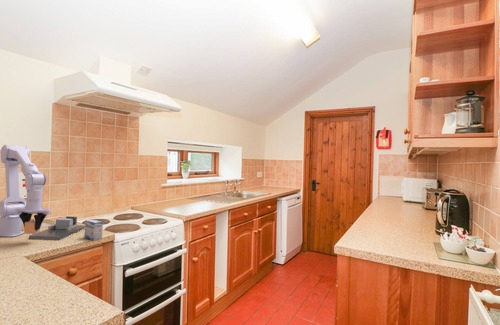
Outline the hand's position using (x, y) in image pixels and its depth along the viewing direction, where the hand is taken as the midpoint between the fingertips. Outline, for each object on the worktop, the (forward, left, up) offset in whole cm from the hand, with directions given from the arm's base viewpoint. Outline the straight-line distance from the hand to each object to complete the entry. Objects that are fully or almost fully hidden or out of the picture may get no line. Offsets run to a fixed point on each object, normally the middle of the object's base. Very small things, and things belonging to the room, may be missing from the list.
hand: (32, 229), depth 126 cm
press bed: (+2, +18, -6) cm, 19 cm away
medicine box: (+22, +11, -6) cm, 25 cm away
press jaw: (+2, +24, -4) cm, 24 cm away
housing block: (0, 0, -2) cm, 2 cm away
